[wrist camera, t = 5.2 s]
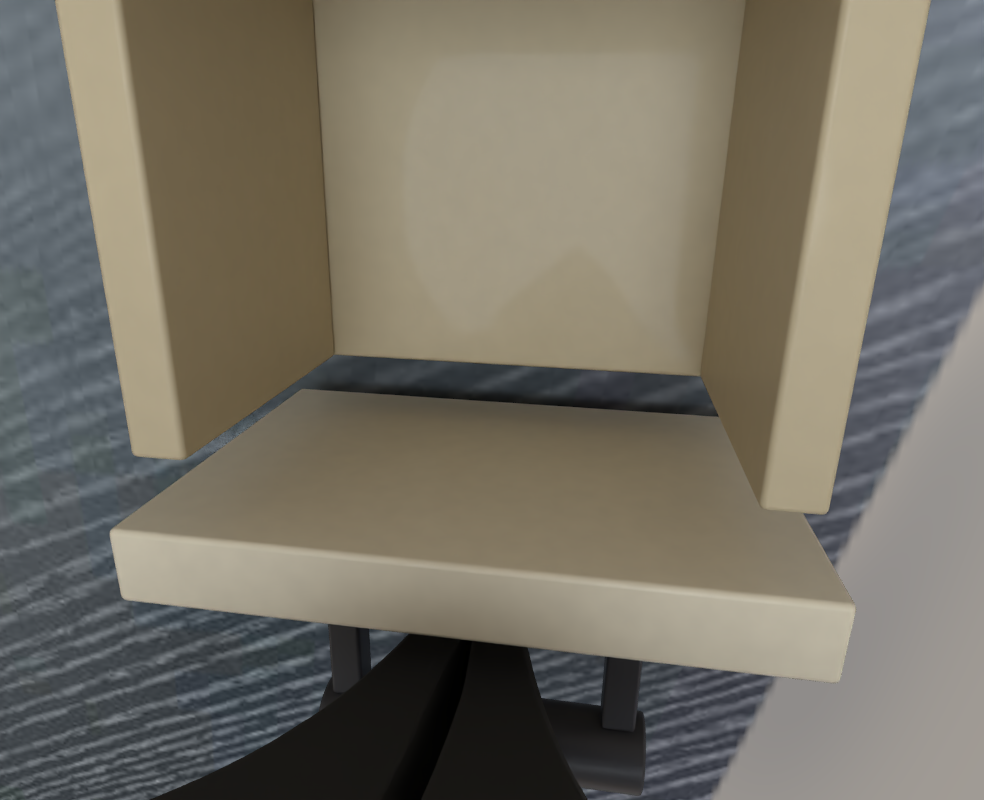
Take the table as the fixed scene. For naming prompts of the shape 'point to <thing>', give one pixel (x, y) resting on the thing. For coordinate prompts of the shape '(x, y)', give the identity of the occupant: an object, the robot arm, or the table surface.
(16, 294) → the table surface
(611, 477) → the drawer
